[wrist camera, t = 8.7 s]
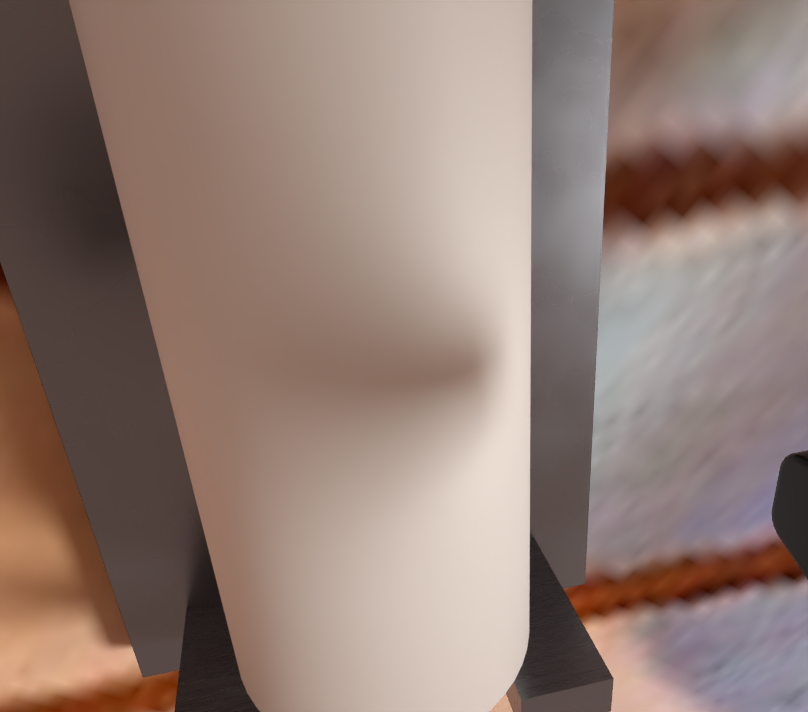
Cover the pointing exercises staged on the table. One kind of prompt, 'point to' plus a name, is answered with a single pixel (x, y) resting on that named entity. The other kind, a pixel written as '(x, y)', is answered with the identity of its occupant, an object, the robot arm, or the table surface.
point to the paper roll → (340, 324)
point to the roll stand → (146, 387)
